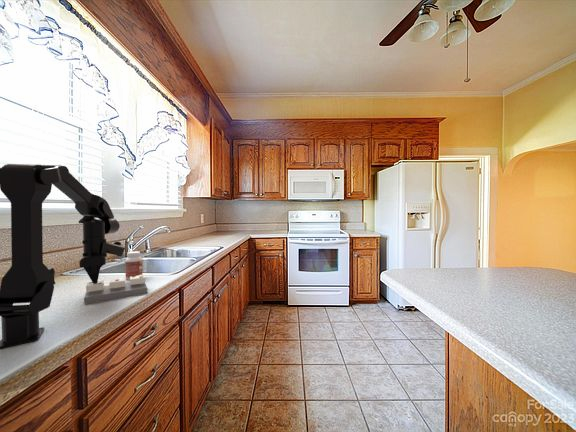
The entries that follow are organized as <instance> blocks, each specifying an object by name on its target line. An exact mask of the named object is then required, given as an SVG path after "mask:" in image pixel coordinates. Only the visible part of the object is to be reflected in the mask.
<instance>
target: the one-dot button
mask: <svg viewBox="0 0 576 432" xmlns="http://www.w3.org/2000/svg"><path fill="white" fill-rule="evenodd" d="M125 283H126V277H121V278H113V279H109V283H108V285H109V289H111V288H118V287H124V286H125Z"/></svg>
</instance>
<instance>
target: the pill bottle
mask: <svg viewBox="0 0 576 432" xmlns="http://www.w3.org/2000/svg"><path fill="white" fill-rule="evenodd" d="M126 254H127V258H126V259H125V261H124V265H125V270H124V271H125V280H129V281H130V277H131V276H138V275H144V274H143V258H142V257H141V252H140V251H139V250H137V251H129V252H127V253H126Z"/></svg>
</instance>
